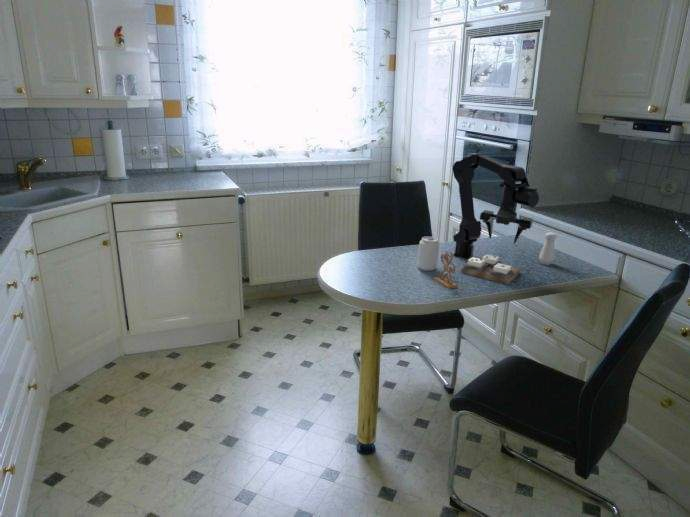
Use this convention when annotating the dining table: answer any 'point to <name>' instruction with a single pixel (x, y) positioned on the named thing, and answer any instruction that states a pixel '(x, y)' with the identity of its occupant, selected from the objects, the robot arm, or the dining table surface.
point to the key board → (491, 272)
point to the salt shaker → (548, 249)
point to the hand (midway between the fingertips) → (502, 240)
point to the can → (428, 253)
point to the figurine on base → (441, 278)
